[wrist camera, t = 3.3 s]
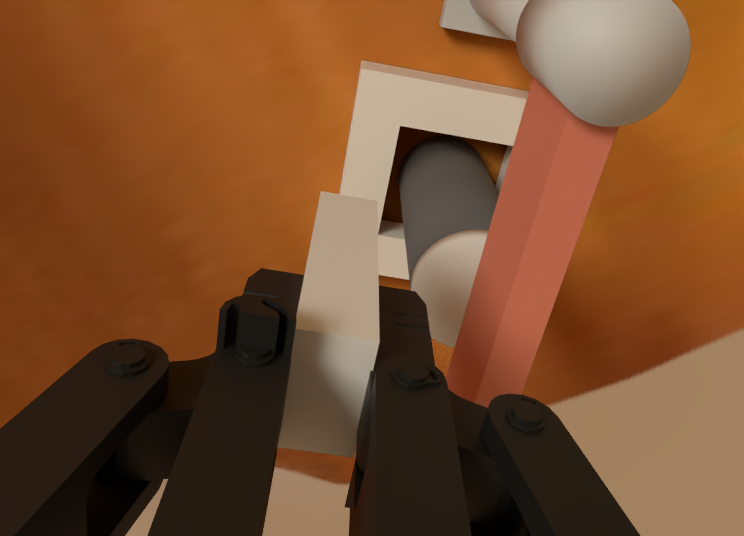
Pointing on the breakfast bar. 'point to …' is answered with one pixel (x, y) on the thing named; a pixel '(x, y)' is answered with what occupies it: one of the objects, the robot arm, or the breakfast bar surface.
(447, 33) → the breakfast bar surface
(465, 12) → the socket
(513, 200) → the clip
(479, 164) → the dark grey cylinder
